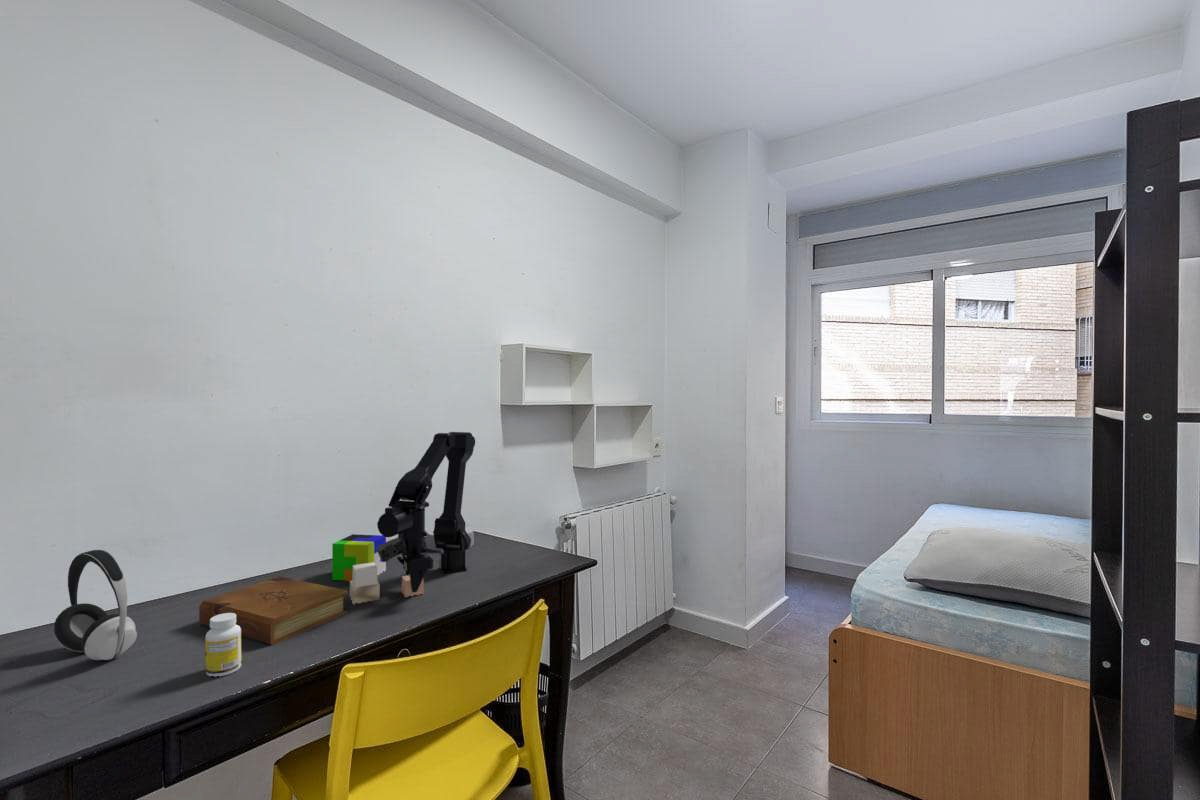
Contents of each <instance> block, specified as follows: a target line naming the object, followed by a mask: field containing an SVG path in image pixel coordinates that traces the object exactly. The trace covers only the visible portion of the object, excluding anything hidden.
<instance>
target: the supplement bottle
mask: <svg viewBox="0 0 1200 800" xmlns="http://www.w3.org/2000/svg"><path fill="white" fill-rule="evenodd" d="M235 623H236V614H235V613H224V614H219V615H216V616H214V617H212V618H211V619H210V627H209V628H210V629H209V630H208V631H207V632H206V634H205V640H204V641H205V673H206V675H207V676H208V677H211V676H214V678H216V677H217V676H219V677H224V676H228V675H231V674H233V673H235V672H236V671H238V670H239V669H240V668H241V667H242V663H243V662H242V661H243V660H242V659H243V657H242V636H241V628H240V626H238V625H236V624H235Z"/></svg>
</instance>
